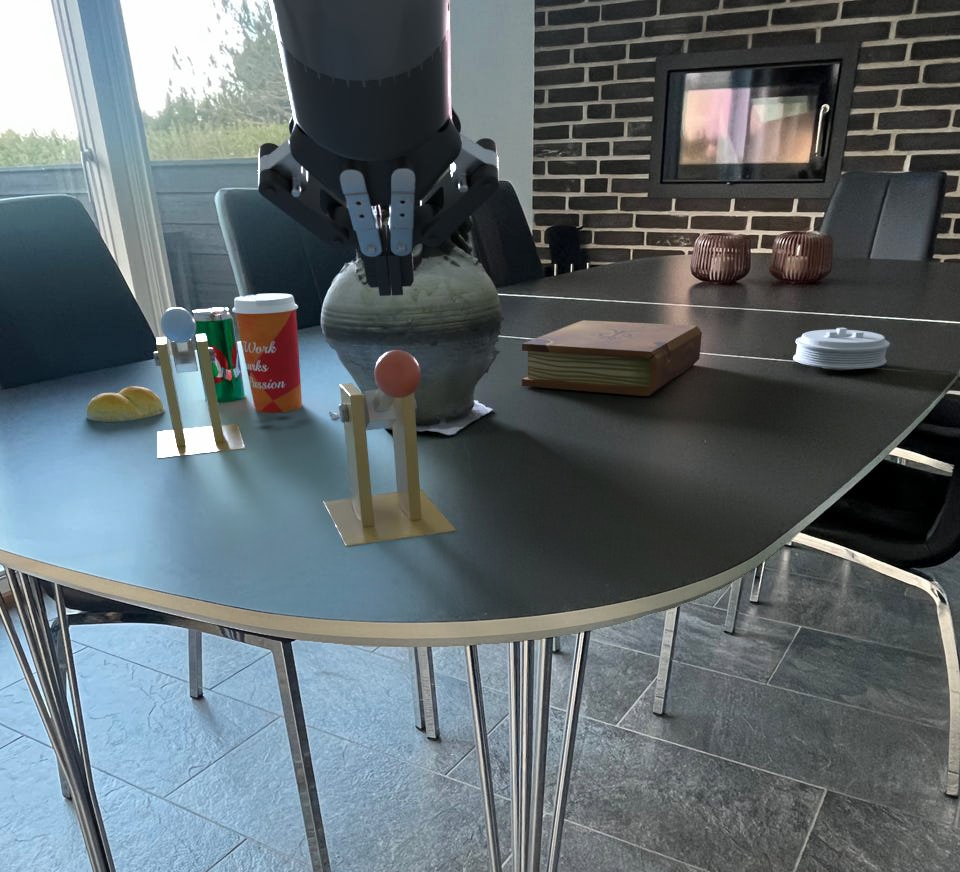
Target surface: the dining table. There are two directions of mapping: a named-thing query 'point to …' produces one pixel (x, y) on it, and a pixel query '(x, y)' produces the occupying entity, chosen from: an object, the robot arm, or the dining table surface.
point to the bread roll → (125, 405)
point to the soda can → (221, 352)
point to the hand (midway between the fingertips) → (391, 283)
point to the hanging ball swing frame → (180, 438)
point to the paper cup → (270, 350)
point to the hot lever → (390, 388)
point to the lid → (841, 349)
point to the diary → (612, 356)
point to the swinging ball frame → (391, 511)
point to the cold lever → (180, 338)
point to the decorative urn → (421, 327)
